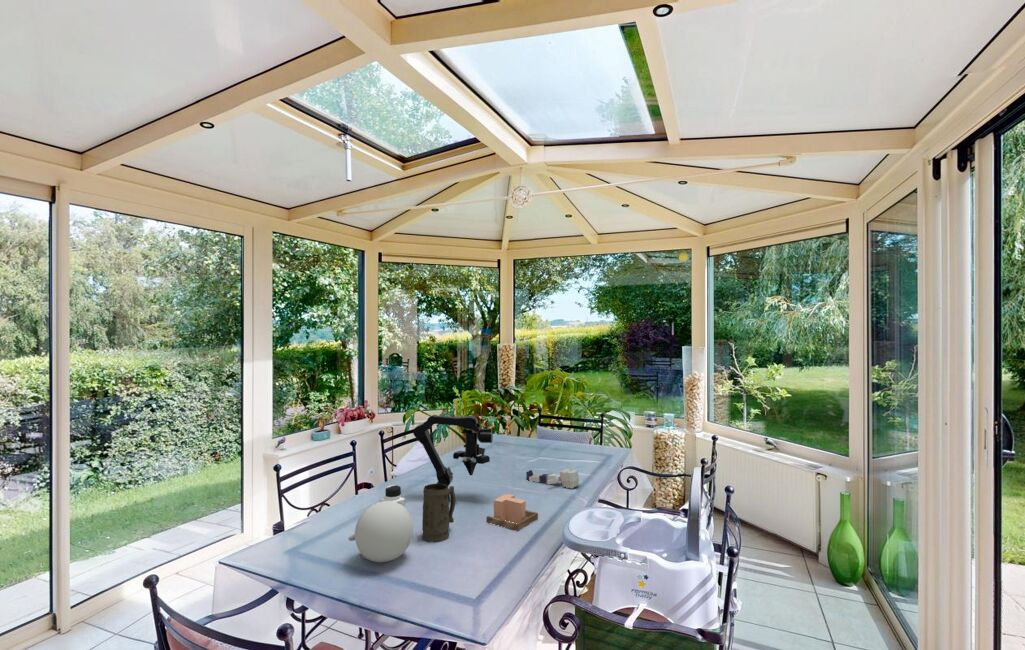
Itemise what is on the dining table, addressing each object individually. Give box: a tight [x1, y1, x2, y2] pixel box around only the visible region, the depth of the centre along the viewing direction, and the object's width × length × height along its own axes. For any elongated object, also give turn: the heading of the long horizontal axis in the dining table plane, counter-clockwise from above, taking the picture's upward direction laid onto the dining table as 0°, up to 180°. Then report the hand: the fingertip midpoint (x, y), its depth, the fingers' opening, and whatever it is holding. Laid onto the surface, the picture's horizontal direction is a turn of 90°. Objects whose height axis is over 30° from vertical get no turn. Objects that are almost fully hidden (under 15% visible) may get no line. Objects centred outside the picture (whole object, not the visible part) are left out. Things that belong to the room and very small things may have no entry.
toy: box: [525, 468, 580, 489], centre depth 251 cm, size 21×9×30 cm
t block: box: [493, 493, 527, 523], centre depth 200 cm, size 12×10×9 cm
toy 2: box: [347, 501, 414, 563], centre depth 164 cm, size 20×20×20 cm
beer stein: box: [421, 483, 457, 542], centre depth 185 cm, size 15×11×20 cm
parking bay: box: [486, 509, 539, 532], centre depth 199 cm, size 16×16×2 cm
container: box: [380, 484, 406, 508], centre depth 204 cm, size 8×8×13 cm
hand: (471, 475), depth 222 cm, fingers closed
